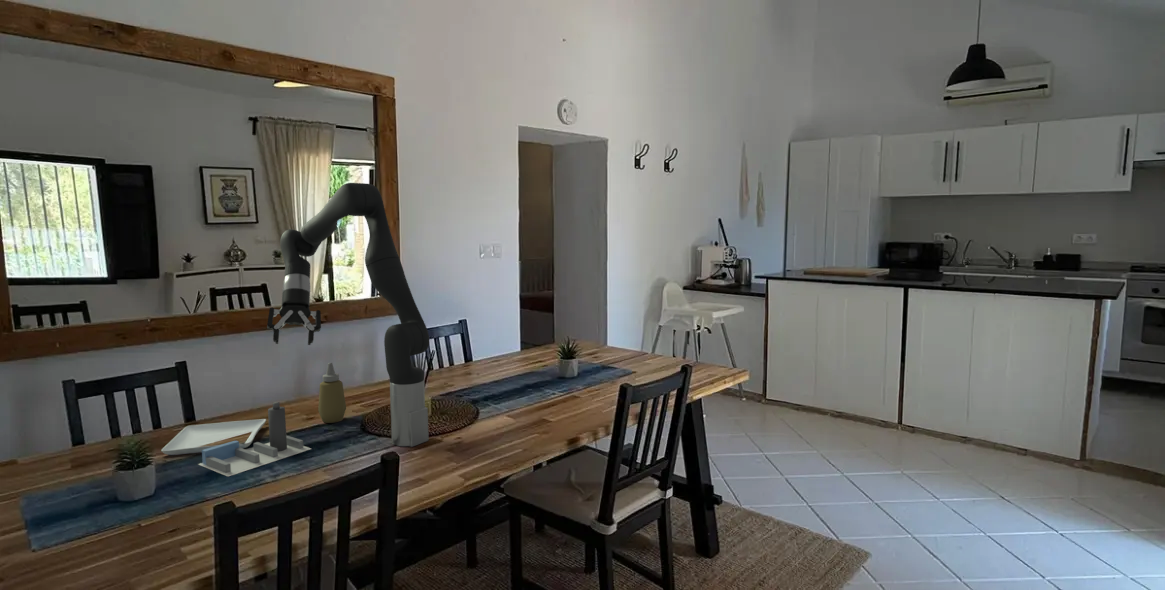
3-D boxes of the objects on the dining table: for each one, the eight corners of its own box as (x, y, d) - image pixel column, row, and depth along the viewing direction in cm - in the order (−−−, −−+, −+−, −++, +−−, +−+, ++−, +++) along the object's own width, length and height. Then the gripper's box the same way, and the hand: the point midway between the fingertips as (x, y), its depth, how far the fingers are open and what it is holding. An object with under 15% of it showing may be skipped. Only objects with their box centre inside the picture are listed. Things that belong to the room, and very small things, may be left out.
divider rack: (311, 452, 169) (311, 435, 168) (228, 480, 151) (227, 462, 150) (281, 442, 176) (280, 426, 176) (198, 468, 158) (196, 450, 158)
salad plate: (160, 462, 163) (159, 449, 162) (187, 435, 183) (186, 424, 183) (251, 454, 168) (250, 442, 168) (267, 429, 189) (267, 418, 188)
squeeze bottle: (328, 426, 190) (325, 367, 188) (313, 421, 195) (310, 363, 193) (352, 419, 197) (349, 362, 194) (337, 415, 201) (334, 359, 199)
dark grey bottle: (290, 448, 169) (287, 402, 168) (275, 452, 166) (273, 405, 164) (281, 445, 171) (278, 399, 170) (267, 449, 168) (264, 403, 166)
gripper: (270, 285, 184) (266, 338, 177) (323, 288, 190) (321, 340, 184) (269, 295, 190) (265, 347, 184) (320, 298, 196) (318, 348, 190)
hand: (293, 343), depth 184 cm, fingers open, 8 cm apart
